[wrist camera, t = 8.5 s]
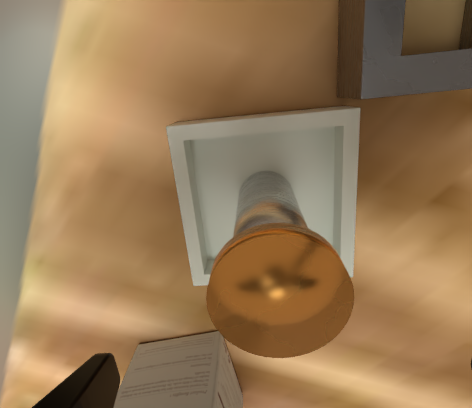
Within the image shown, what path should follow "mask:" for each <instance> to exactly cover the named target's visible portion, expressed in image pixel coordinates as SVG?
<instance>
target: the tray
mask: <svg viewBox="0 0 472 408" xmlns="http://www.w3.org/2000/svg"><path fill="white" fill-rule="evenodd" d="M166 130H167V136H168V142H169V148H170V153H171V159H172V165H173V171H174V176H175V182H176V188H177V194H178V199H179V205H180V211H181V217H182V222H183V228H184V234H185V240H186V246H187V251H188V257H189V263H190V269H191V274H192V280H193V286H201V285H208V283H209V279H210V274H211V270H212V266H213V263H214V261H215V258H216V256H217V255H218V253H219V251H220V250H221V249H222V248H223V246H224V245H225V244H226V243H227V242H228V241H229V240H230V239H232V238H233V234H234V226H235V219H236V211H237V203H238V196H239V190H240V187H241V185H242V184H243V182H244V181H245V180H246V179H247V178H248V177H249V176H251V175H252V174H254V173H257V172H260V171H272V172H276V173H278V174H280V175H282V176H283V177H285V178H286V179H287V181H288V182H289V183H290V185H291V187H292V190H293V192H294V195H295V197H296V200H297V202H298V204H299V207H300V209H301V212H302V214H303V217H304V219H305V222H306V224H307V227H308V229H310V230H312V231H314V232H316V233H318V234H319V235H321V236H322V237H324V238H325V239H326V240H327V241H328V242H329V243H330V244H331V245H332V246H333V247H334V249H335V250H336V251H337V253H338V255H339V257H340V258H341V260H342V262H343V264H344V266H345V268H346V270H347V272H348V274H349V276H350V277H353V268H354V245H355V222H356V199H357V177H358V154H359V131H360V108H358V107H352V106H335V107H325V108H315V109H305V110H294V111H284V112H274V113H264V114H253V115H243V116H233V117H223V118H213V119H202V120H192V121H182V122H176V123H173V124H171V125H169V126H166Z"/></svg>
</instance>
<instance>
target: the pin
mask: <svg viewBox="0 0 472 408" xmlns="http://www.w3.org/2000/svg"><path fill="white" fill-rule="evenodd" d="M206 300H207V308H208V312H209V315H210V318H211V320H212V322H213V324H214V325H215V327H216V328H217V330H218V331H219V332H220V334H221V335H222V336H224V337H225V338H226V339H227V340H228V341H229V342H231V343H232V344H233V345H235V346H237V347H238V348H240V349H242V350H244V351H247V352H249V353H252V354H255V355H259V356H264V357H272V358H287V357H295V356H300V355H303V354H307V353H310V352H312V351H315V350H317V349H319V348H321V347H323V346H324V345H326V344H327V343H329V342H330V341H331V340H333V339H334V338H335V337H336V336H337V335H338V334H339V333H340V332H341V330H342V329H343V328H344V326H345V325H346V323H347V322H348V320H349V317H350V315H351V312H352V309H353V303H354V290H353V285H352V281H351V278H350V276H349V274H348V272H347V270H346V268H345V266H344V264H343V262H342V260H341V258H340V257H339V255H338V253H337V251H336V250H335V249H334V247H333V246H332V245H331V244H330V243H329V242H328V241H327V240H326V239H325V238H324V237H322V236H321V235H319V234H318V233H316V232H314V231H312V230H310V229H308V227H307V224H306V222H305V219H304V217H303V214H302V212H301V209H300V207H299V204H298V202H297V200H296V197H295V195H294V192H293V190H292V187H291V185H290V183H289V182H288V181H287V179H286V178H285V177H283V176H282V175H280V174H278V173H276V172H272V171H260V172H257V173H254V174H252V175H251V176H249V177H248V178H247V179H246V180H245V181H244V182H243V184H242V185H241V187H240V190H239V196H238V203H237V211H236V219H235V226H234V234H233V238H232V239H230V240H229V241H228V242H227V243H226V244H225V245H224V246H223V248H222V249H221V250H220V251H219V253H218V255H217V256H216V258H215V261H214V263H213V266H212V270H211V274H210V279H209V283H208V288H207V296H206Z"/></svg>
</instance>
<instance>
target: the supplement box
mask: <svg viewBox="0 0 472 408" xmlns="http://www.w3.org/2000/svg"><path fill="white" fill-rule="evenodd" d="M114 408H243V394H242V392H241V389H240V386H239V382H238V380H237V376H236V374H235V370H234V367H233V364H232V361H231V358H230V355H229V352H228V349H227V346H226V343H225V341H224V337H223V336H222V335H221V334H220V332H219V331H216V332H210V333H205V334H199V335H193V336H187V337H181V338H175V339H170V340H163V341H157V342H151V343H146V344H139V345H138V346H137V348H136V351H135V353H134V355H133V358H132V360H131V362H130V365H129V367H128V369H127V372H126V374H125V376H124V379H123V381H122V383H121V385H120V388H119V390H118V393H117V396H116V400H115V404H114Z"/></svg>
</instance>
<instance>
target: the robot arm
mask: <svg viewBox="0 0 472 408" xmlns="http://www.w3.org/2000/svg"><path fill="white" fill-rule="evenodd" d="M471 368H472V360H471ZM119 385H120V375H119V371H118V368H117V365H116V362H115V358H114V356H113V355H112V354H111V353H98V354H95V355H94V356H92V357H91V358H90V359H89V360H88V361H86V362H85V363H84V364H83V365H82V366H80V367H79V368H78V369H77V370H76V371H74V372H73V373H72V374H71V375H70V376H69V377H67V378H66V379H65V380H64V381H63V382H61V383H60V384H59V385H58V386H57V387H56V388H54V389H53V390H52V391H51V392H50V393H48V394H47V395H46V396H45V397H44V398H43V399H41V400H40V401H39V402H38V403H37V404H35V405H34V406H33V407H32V408H114V404H115V400H116V396H117V393H118V389H119Z"/></svg>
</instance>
